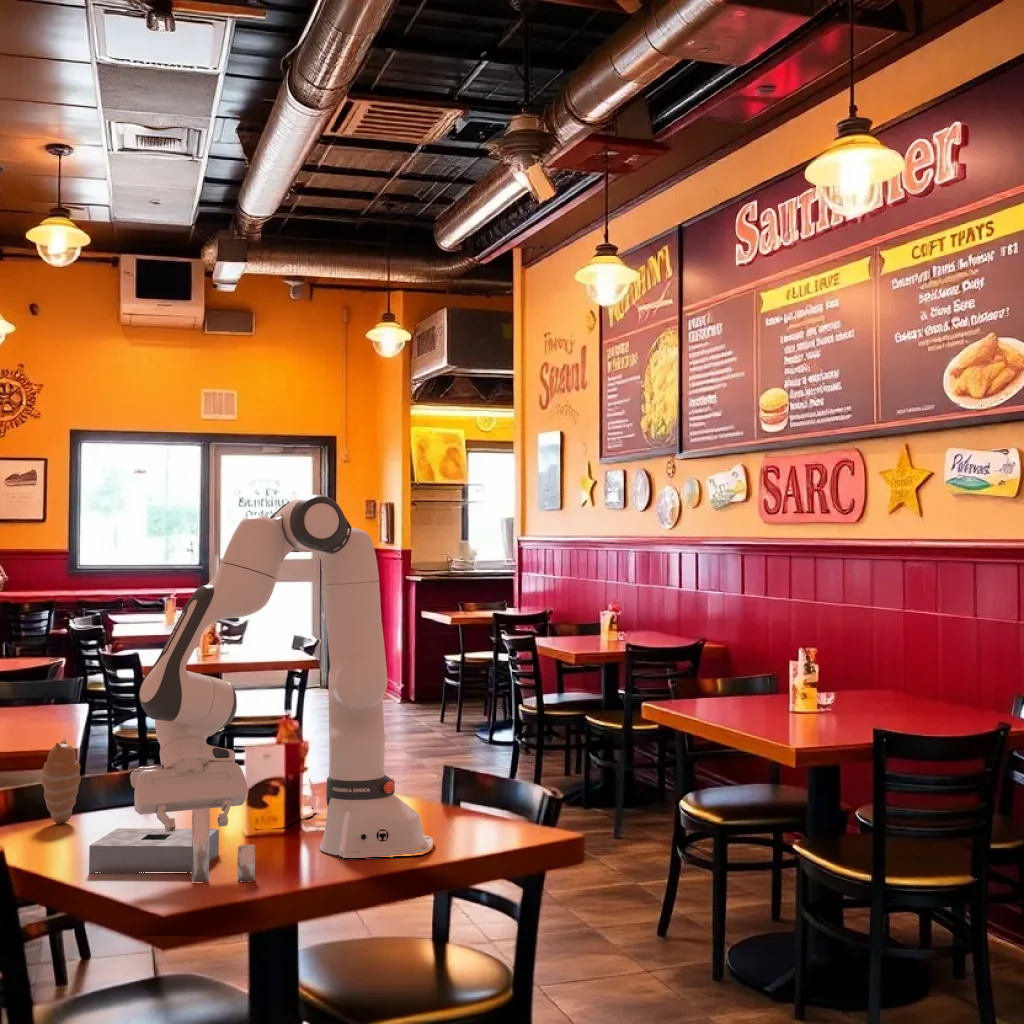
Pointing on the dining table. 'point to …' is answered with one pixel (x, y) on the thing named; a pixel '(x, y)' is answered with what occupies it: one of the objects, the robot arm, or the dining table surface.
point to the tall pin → (200, 843)
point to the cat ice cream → (61, 781)
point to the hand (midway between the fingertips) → (197, 827)
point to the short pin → (246, 863)
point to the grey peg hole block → (146, 851)
